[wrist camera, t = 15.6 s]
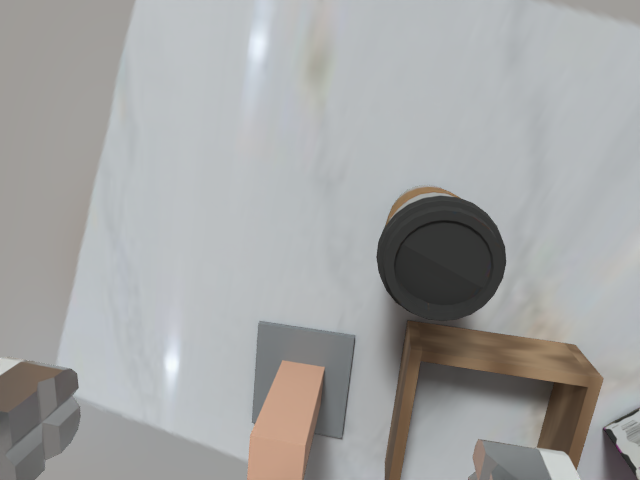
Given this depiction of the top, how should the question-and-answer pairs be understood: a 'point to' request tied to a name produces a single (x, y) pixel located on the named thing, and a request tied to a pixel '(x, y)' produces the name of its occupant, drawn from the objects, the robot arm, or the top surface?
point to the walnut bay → (505, 358)
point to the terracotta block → (286, 424)
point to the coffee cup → (440, 254)
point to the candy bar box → (627, 439)
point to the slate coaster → (311, 350)
